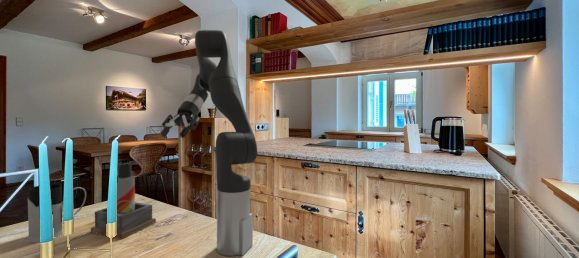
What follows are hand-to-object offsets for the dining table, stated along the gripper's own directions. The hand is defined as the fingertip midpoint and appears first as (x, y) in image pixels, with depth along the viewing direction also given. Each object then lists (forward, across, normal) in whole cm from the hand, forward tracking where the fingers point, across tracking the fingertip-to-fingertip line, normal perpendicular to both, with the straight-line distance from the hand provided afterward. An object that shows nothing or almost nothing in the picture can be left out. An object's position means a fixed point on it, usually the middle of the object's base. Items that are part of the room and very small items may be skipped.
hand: (172, 136), depth 101 cm
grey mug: (+40, -21, +2) cm, 45 cm away
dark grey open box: (+33, -5, +9) cm, 34 cm away
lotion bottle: (+32, -5, +8) cm, 33 cm away
